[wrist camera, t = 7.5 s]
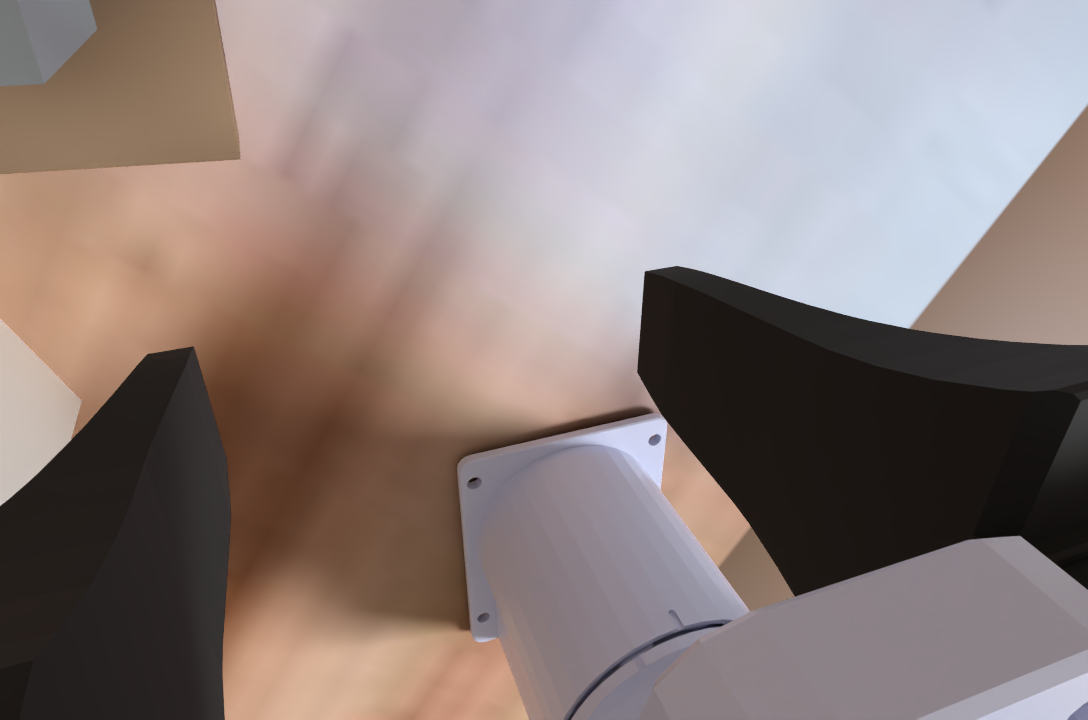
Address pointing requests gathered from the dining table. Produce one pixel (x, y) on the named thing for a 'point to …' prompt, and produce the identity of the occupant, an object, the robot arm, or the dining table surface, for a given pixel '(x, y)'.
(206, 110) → the brown block
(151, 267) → the dining table surface
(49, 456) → the cream block
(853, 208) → the dining table surface
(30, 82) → the slate block
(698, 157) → the dining table surface
